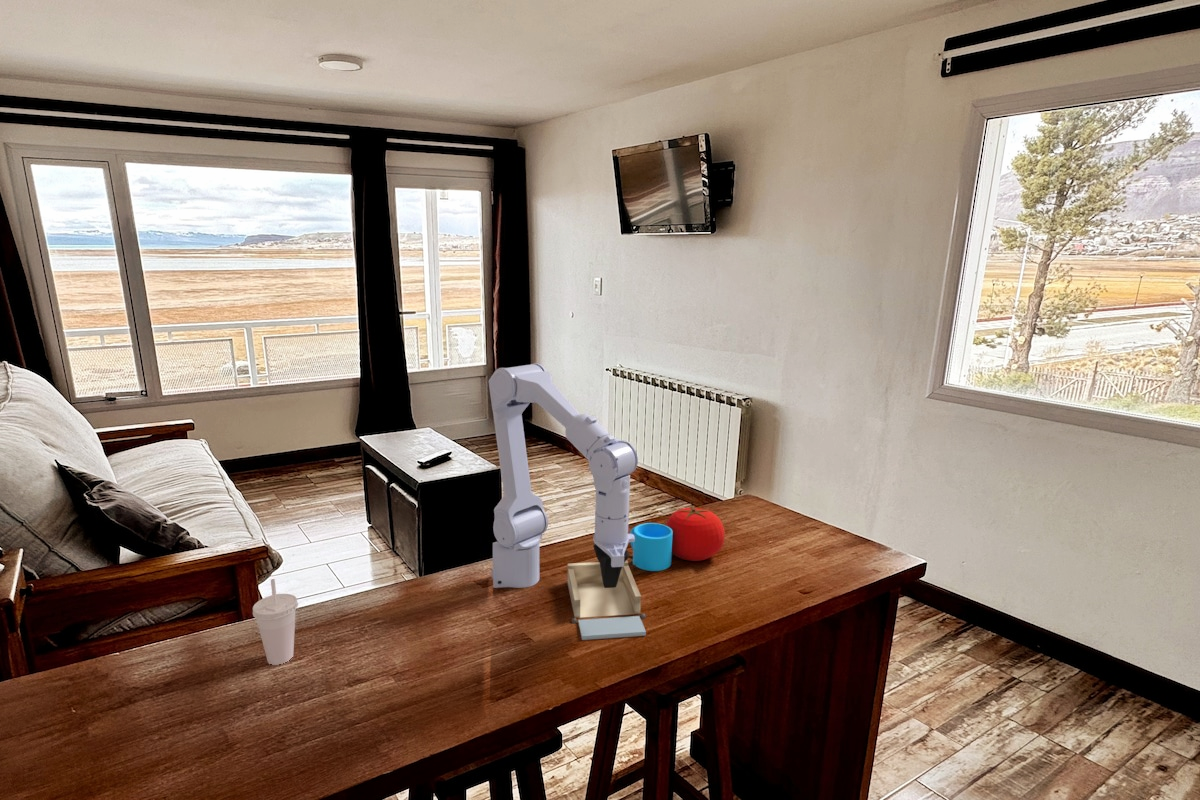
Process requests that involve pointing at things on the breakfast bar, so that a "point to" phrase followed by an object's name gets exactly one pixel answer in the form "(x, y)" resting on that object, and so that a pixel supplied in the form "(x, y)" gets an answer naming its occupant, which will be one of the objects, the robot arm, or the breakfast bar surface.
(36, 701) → the breakfast bar surface
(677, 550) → the tomato
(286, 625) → the smoothie
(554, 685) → the breakfast bar surface
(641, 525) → the mug
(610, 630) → the panel
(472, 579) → the breakfast bar surface
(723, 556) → the breakfast bar surface
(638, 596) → the box
